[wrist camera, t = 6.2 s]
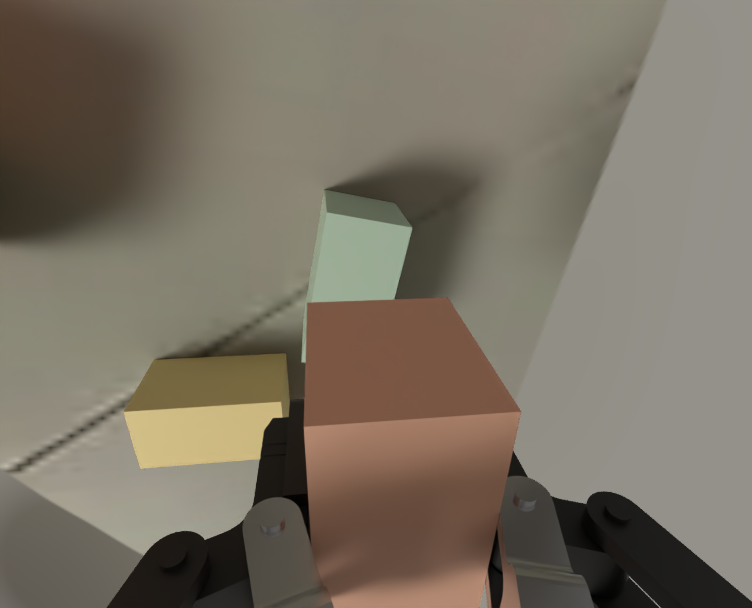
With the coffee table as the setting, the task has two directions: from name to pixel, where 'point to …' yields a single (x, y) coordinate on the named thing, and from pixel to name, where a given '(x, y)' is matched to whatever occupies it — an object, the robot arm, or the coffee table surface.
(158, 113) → the coffee table surface
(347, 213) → the sage brick
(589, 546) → the robot arm
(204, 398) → the ochre brick
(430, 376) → the terracotta brick
